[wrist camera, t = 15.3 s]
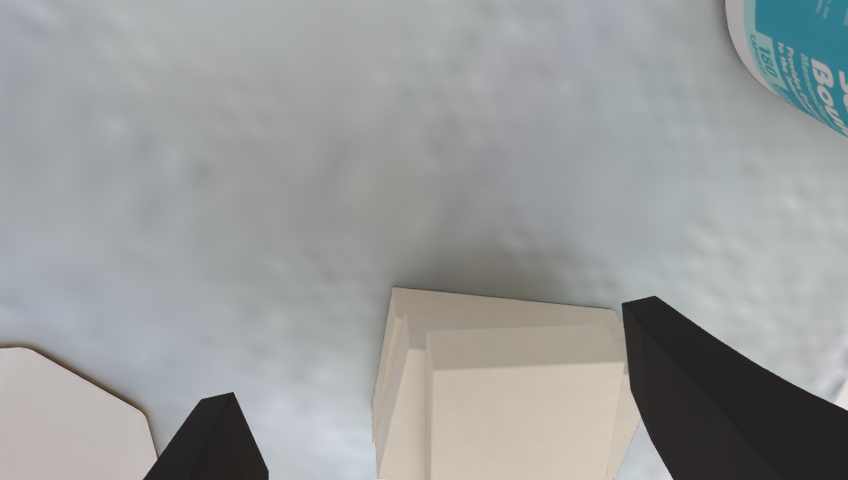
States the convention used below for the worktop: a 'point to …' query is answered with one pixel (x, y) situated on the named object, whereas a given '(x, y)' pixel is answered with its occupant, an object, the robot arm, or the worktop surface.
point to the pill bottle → (797, 52)
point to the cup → (66, 425)
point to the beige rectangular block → (521, 402)
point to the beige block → (406, 368)
